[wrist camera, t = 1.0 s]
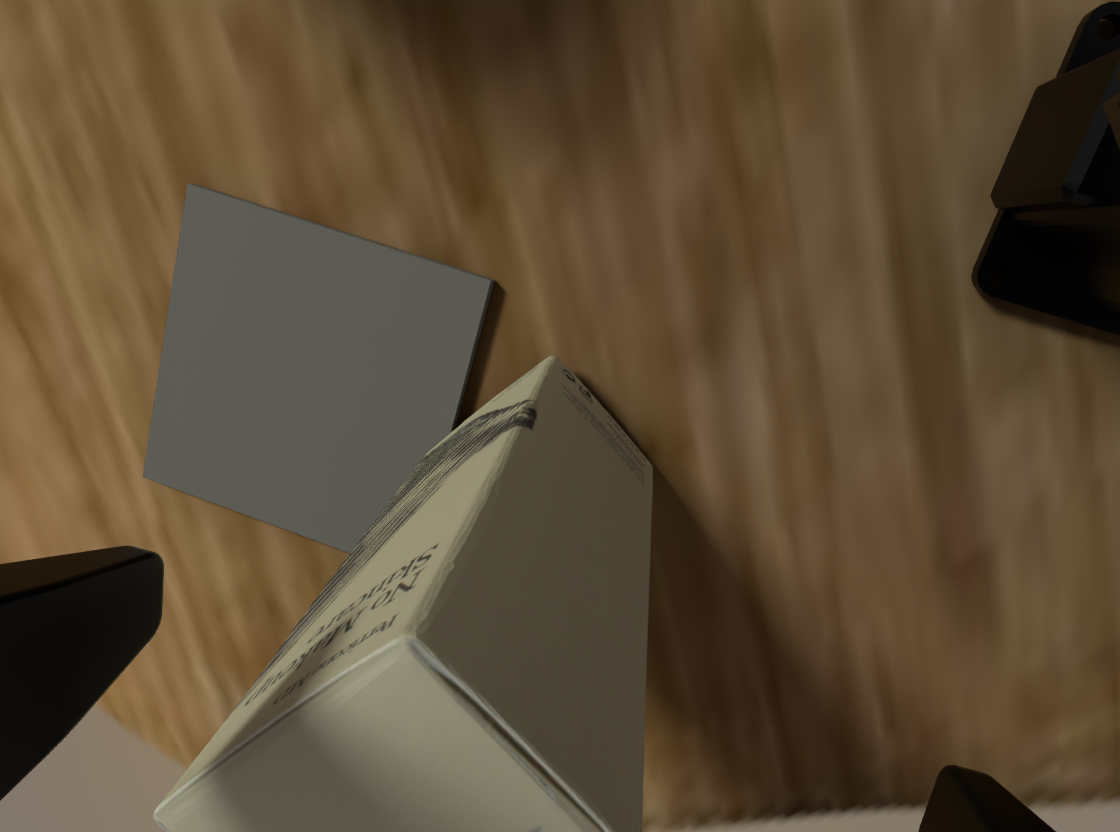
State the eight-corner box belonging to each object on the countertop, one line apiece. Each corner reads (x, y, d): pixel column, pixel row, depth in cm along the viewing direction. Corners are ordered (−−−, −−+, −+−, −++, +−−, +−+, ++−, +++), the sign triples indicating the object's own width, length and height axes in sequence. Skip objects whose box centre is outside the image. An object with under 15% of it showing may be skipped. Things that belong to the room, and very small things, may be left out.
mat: (494, 280, 21) (490, 280, 21) (417, 570, 23) (412, 576, 23) (196, 184, 22) (187, 183, 22) (151, 472, 24) (142, 476, 24)
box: (555, 345, 21) (419, 609, 8) (659, 468, 21) (669, 872, 9) (414, 460, 22) (125, 824, 10) (515, 571, 23) (360, 1036, 11)
